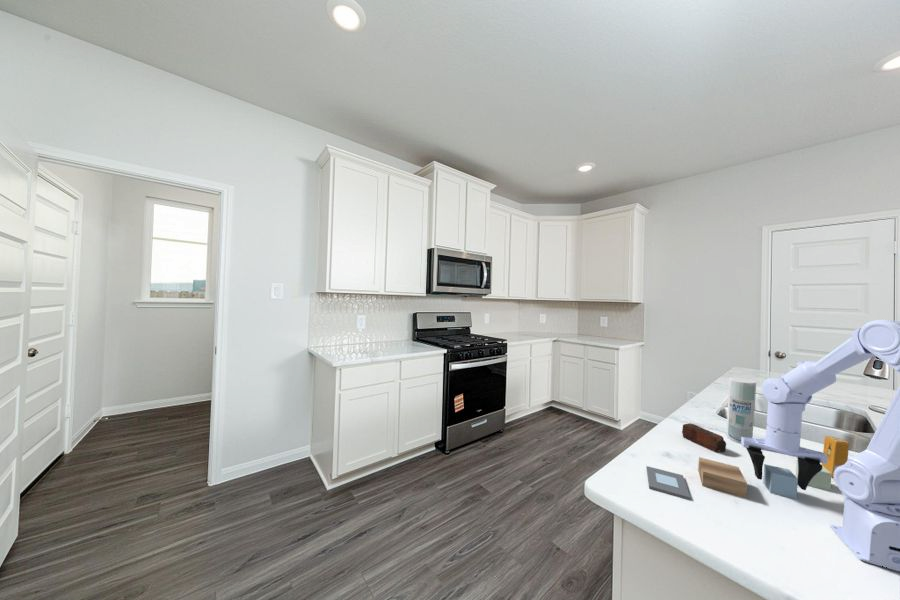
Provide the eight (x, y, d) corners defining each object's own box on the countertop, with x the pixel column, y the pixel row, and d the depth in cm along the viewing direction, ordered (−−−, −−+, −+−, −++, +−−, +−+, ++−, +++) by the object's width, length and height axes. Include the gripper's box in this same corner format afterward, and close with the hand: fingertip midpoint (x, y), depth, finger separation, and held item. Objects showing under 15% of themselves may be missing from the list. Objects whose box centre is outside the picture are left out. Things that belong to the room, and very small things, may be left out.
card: (690, 499, 72) (690, 497, 72) (649, 488, 76) (649, 485, 76) (682, 477, 81) (682, 474, 81) (646, 468, 84) (646, 465, 84)
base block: (745, 499, 73) (746, 483, 73) (702, 487, 77) (703, 471, 77) (737, 482, 80) (738, 467, 80) (698, 471, 84) (698, 457, 84)
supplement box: (848, 480, 81) (851, 442, 81) (832, 478, 82) (834, 441, 81) (835, 472, 84) (838, 436, 84) (819, 471, 85) (822, 435, 85)
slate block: (796, 499, 73) (798, 478, 73) (770, 493, 75) (771, 472, 75) (787, 489, 77) (788, 469, 77) (762, 483, 79) (764, 464, 79)
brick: (681, 437, 103) (682, 423, 103) (689, 436, 105) (690, 422, 104) (717, 454, 93) (718, 439, 93) (726, 452, 94) (727, 437, 94)
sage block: (830, 491, 77) (831, 473, 76) (804, 485, 79) (805, 467, 79) (820, 481, 80) (821, 464, 80) (795, 476, 83) (796, 459, 82)
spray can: (751, 439, 103) (755, 380, 102) (753, 447, 98) (757, 384, 97) (725, 433, 107) (728, 376, 106) (726, 440, 102) (729, 380, 101)
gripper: (817, 429, 75) (813, 483, 76) (738, 415, 83) (735, 465, 83) (834, 441, 69) (829, 500, 70) (747, 425, 76) (744, 479, 77)
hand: (779, 482), depth 76 cm, fingers open, 7 cm apart
